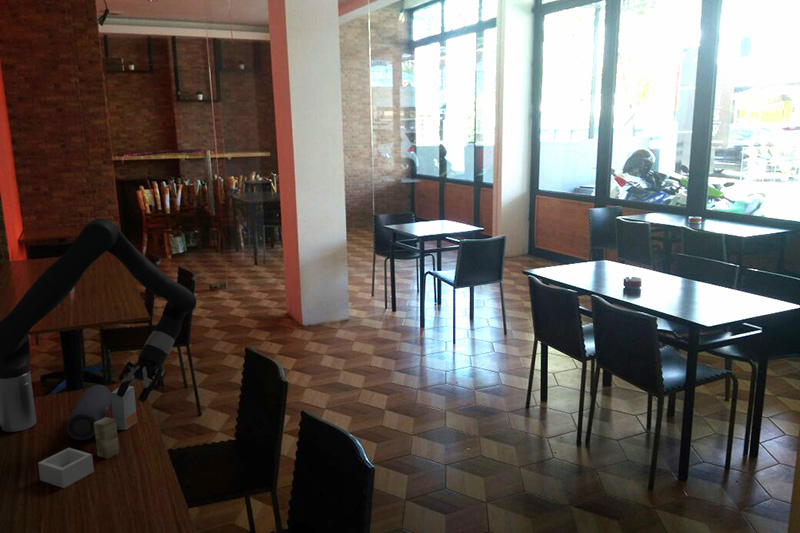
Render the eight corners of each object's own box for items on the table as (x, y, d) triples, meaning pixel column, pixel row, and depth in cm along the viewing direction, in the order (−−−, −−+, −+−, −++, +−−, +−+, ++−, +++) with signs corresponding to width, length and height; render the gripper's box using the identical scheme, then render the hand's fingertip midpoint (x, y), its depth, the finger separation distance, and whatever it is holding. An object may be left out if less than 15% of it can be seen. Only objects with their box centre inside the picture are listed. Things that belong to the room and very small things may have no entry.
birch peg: (97, 455, 178) (93, 422, 176) (109, 449, 181) (105, 416, 179) (107, 458, 176) (104, 425, 174) (119, 452, 180) (116, 419, 177)
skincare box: (126, 430, 193) (122, 393, 190) (113, 429, 194) (109, 392, 191) (137, 421, 199) (134, 386, 196) (125, 420, 199) (122, 385, 197)
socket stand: (40, 480, 165) (38, 462, 164) (70, 464, 173) (68, 447, 172) (63, 488, 161) (61, 470, 160) (93, 471, 169) (92, 454, 168)
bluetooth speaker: (101, 442, 186) (97, 410, 184) (66, 446, 183) (62, 414, 181) (115, 410, 207) (112, 381, 205) (84, 413, 205) (81, 384, 203)
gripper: (131, 340, 192) (103, 389, 184) (167, 346, 186) (139, 397, 178) (147, 351, 198) (120, 399, 190) (181, 358, 192) (155, 408, 184)
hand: (129, 398), depth 184 cm, fingers open, 8 cm apart
